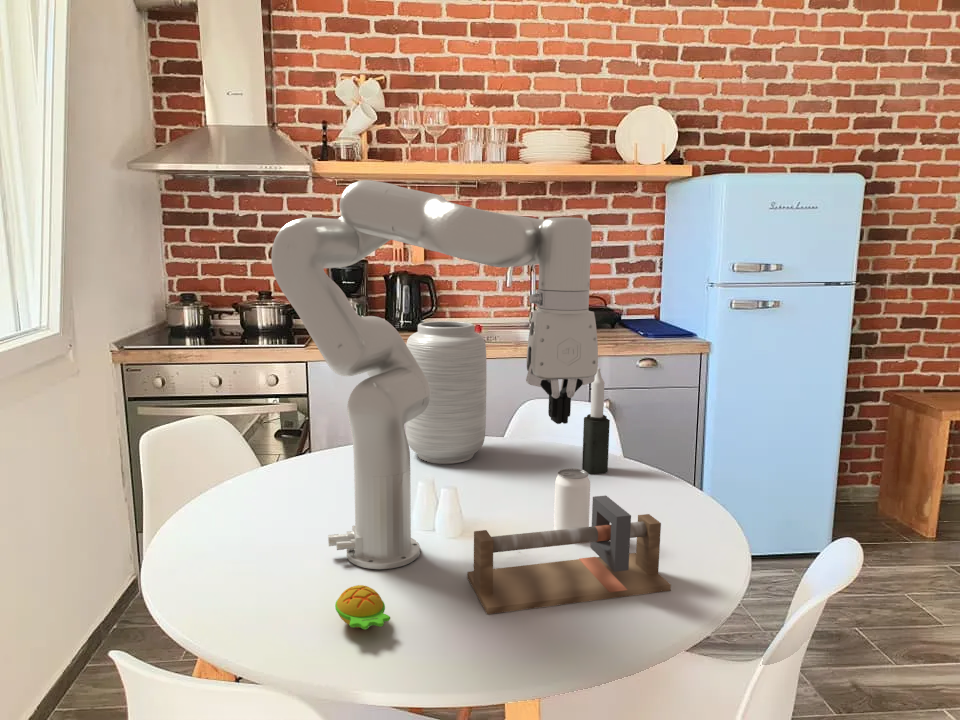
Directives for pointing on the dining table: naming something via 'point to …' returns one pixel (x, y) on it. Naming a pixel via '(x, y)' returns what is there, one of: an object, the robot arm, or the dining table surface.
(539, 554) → the dining table surface
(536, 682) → the dining table surface
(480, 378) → the vase
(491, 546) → the rail
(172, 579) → the dining table surface
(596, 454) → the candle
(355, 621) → the toy pineapple
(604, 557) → the collar
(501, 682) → the dining table surface
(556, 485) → the can
